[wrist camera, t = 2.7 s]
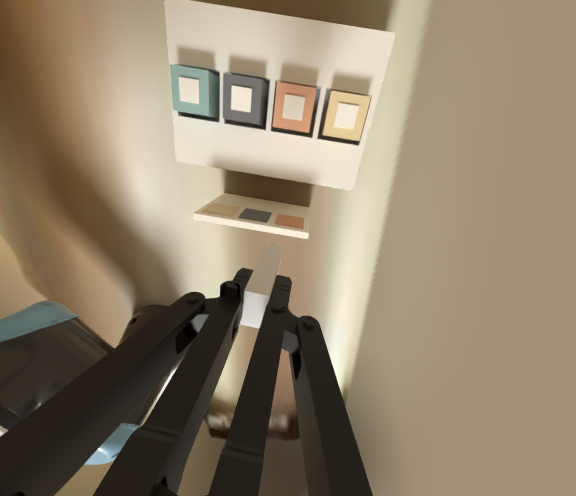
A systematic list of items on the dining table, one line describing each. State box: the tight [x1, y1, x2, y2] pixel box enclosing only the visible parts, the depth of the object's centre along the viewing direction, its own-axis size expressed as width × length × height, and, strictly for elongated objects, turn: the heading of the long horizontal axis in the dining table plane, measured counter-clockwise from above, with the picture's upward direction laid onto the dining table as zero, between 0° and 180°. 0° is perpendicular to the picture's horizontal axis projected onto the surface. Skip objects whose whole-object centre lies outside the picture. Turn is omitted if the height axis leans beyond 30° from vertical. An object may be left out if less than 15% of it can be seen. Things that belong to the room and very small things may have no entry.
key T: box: [321, 91, 371, 141], centre depth 26 cm, size 4×4×4 cm
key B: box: [273, 82, 316, 133], centre depth 26 cm, size 4×4×4 cm
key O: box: [223, 73, 268, 126], centre depth 26 cm, size 4×4×4 cm
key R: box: [170, 64, 220, 118], centre depth 26 cm, size 4×4×4 cm
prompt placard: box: [193, 193, 309, 239], centre depth 32 cm, size 14×1×11 cm, turn 82°
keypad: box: [164, 0, 396, 191], centre depth 29 cm, size 24×16×5 cm, turn 82°
